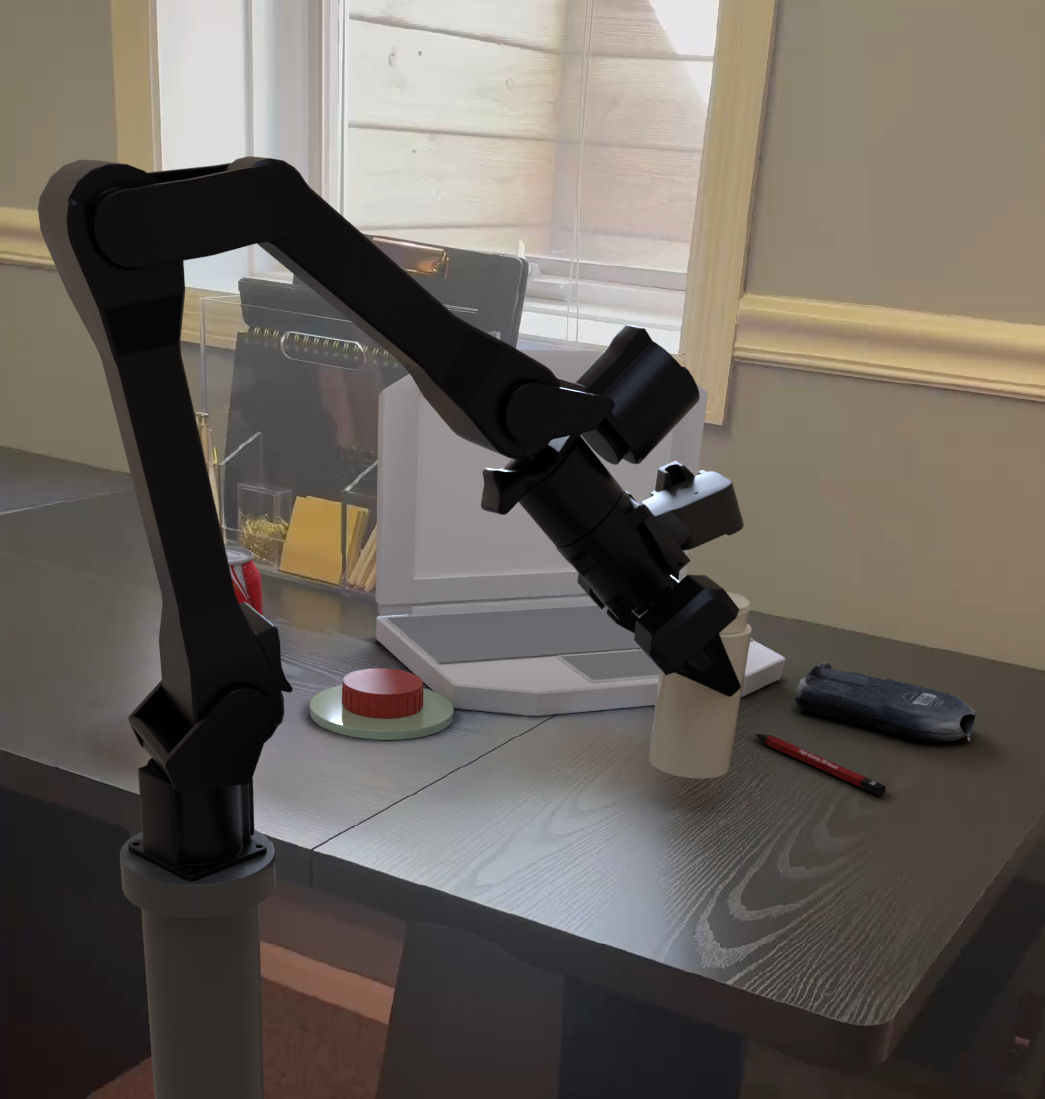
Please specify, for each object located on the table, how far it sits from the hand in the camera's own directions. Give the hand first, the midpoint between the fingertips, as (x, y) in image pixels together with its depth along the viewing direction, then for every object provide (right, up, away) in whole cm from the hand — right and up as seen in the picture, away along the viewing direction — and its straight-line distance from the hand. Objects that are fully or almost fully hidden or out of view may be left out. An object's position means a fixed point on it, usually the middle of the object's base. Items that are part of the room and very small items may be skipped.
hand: (719, 677), depth 101 cm
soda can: (-40, +2, +19) cm, 44 cm away
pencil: (+9, -5, +13) cm, 17 cm away
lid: (-26, +2, +16) cm, 30 cm away
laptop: (-8, +7, +32) cm, 34 cm away
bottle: (-2, -6, +3) cm, 7 cm away
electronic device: (+18, 0, +24) cm, 30 cm away
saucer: (-26, 0, +17) cm, 31 cm away
